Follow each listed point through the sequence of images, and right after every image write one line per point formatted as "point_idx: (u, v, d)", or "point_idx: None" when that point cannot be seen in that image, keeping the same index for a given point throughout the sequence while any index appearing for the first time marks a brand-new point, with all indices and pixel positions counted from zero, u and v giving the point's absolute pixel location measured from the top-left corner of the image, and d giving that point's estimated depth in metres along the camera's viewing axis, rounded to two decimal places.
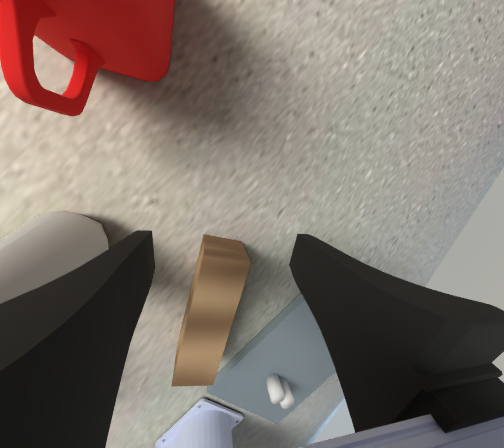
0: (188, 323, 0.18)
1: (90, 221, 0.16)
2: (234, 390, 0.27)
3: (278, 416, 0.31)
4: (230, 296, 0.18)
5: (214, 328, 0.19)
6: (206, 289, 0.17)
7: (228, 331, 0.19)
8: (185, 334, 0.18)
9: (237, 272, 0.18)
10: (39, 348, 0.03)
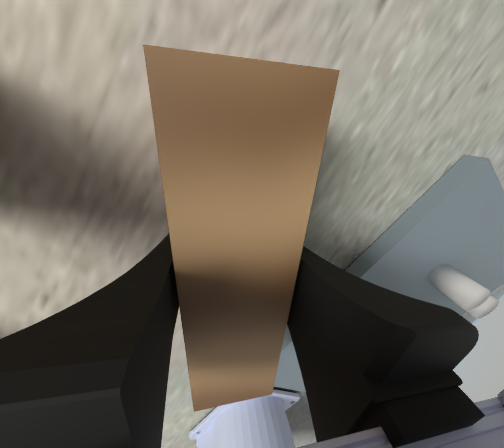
0: (182, 303, 0.07)
1: None
2: (288, 374, 0.18)
3: None
4: (279, 215, 0.06)
5: (252, 304, 0.07)
6: (200, 202, 0.05)
7: (287, 303, 0.08)
8: (185, 327, 0.07)
9: (293, 122, 0.05)
10: (142, 338, 0.03)
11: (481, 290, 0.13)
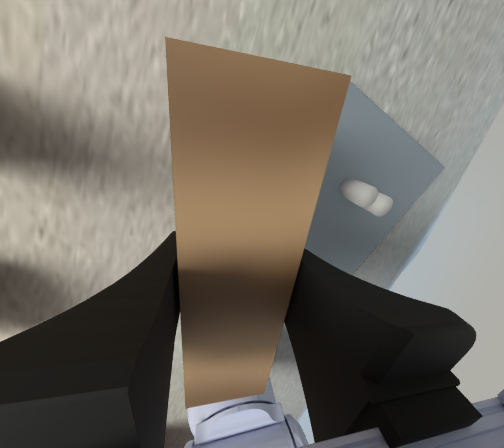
0: (182, 297, 0.07)
1: None
2: None
3: None
4: (284, 213, 0.06)
5: (252, 301, 0.08)
6: (209, 196, 0.05)
7: (286, 302, 0.08)
8: (183, 322, 0.07)
9: (304, 123, 0.05)
10: (147, 338, 0.03)
11: (366, 187, 0.16)
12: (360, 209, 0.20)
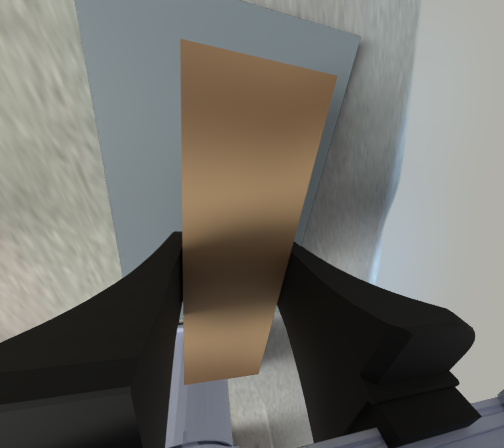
0: (185, 273, 0.07)
1: None
2: None
3: None
4: (278, 197, 0.07)
5: (248, 279, 0.08)
6: (212, 178, 0.06)
7: (279, 282, 0.09)
8: (185, 297, 0.08)
9: (296, 115, 0.06)
10: (149, 337, 0.03)
11: None
12: None
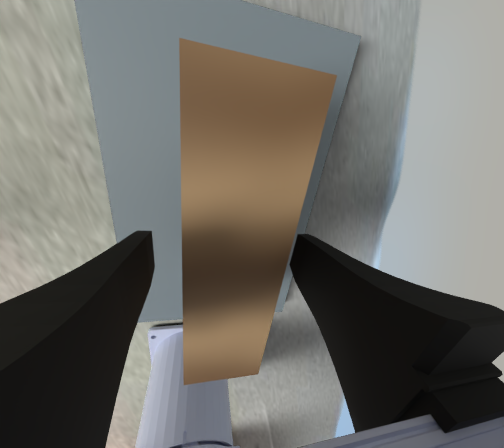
0: (185, 273, 0.07)
1: None
2: (166, 305, 0.18)
3: None
4: (278, 196, 0.07)
5: (247, 279, 0.08)
6: (211, 178, 0.06)
7: (279, 282, 0.09)
8: (184, 297, 0.08)
9: (296, 115, 0.06)
10: (39, 348, 0.03)
11: None
12: None
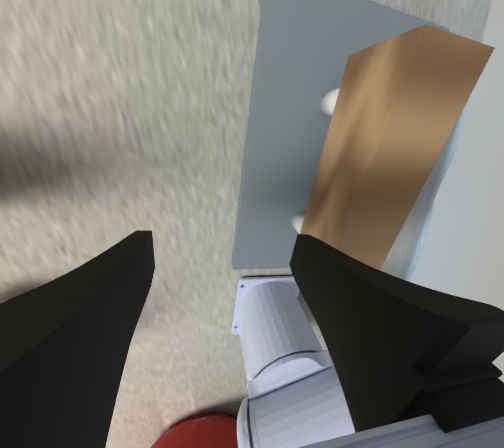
0: (364, 185, 0.11)
1: None
2: (262, 254, 0.21)
3: None
4: (436, 130, 0.10)
5: (396, 196, 0.12)
6: (406, 114, 0.10)
7: (413, 200, 0.12)
8: (355, 206, 0.12)
9: (465, 73, 0.09)
10: (39, 348, 0.03)
11: None
12: None
